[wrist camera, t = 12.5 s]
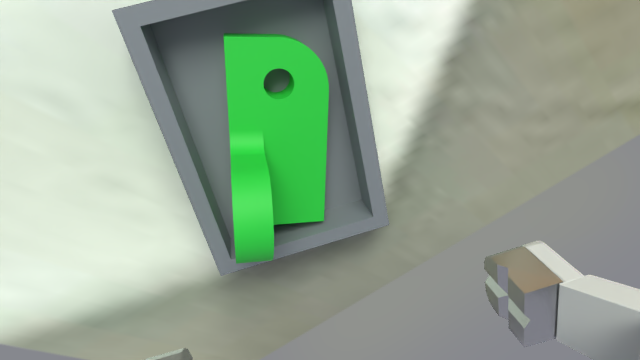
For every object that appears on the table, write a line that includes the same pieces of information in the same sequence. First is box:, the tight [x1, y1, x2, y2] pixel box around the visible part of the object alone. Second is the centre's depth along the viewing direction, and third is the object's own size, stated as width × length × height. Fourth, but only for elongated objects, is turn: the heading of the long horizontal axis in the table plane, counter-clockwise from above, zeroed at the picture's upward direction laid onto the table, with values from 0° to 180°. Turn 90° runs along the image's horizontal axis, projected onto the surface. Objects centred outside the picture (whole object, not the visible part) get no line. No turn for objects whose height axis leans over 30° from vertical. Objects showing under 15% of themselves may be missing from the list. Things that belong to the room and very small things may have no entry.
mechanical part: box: [224, 33, 329, 264], centre depth 24 cm, size 12×6×8 cm, turn 178°
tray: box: [112, 0, 389, 276], centre depth 27 cm, size 12×17×4 cm
